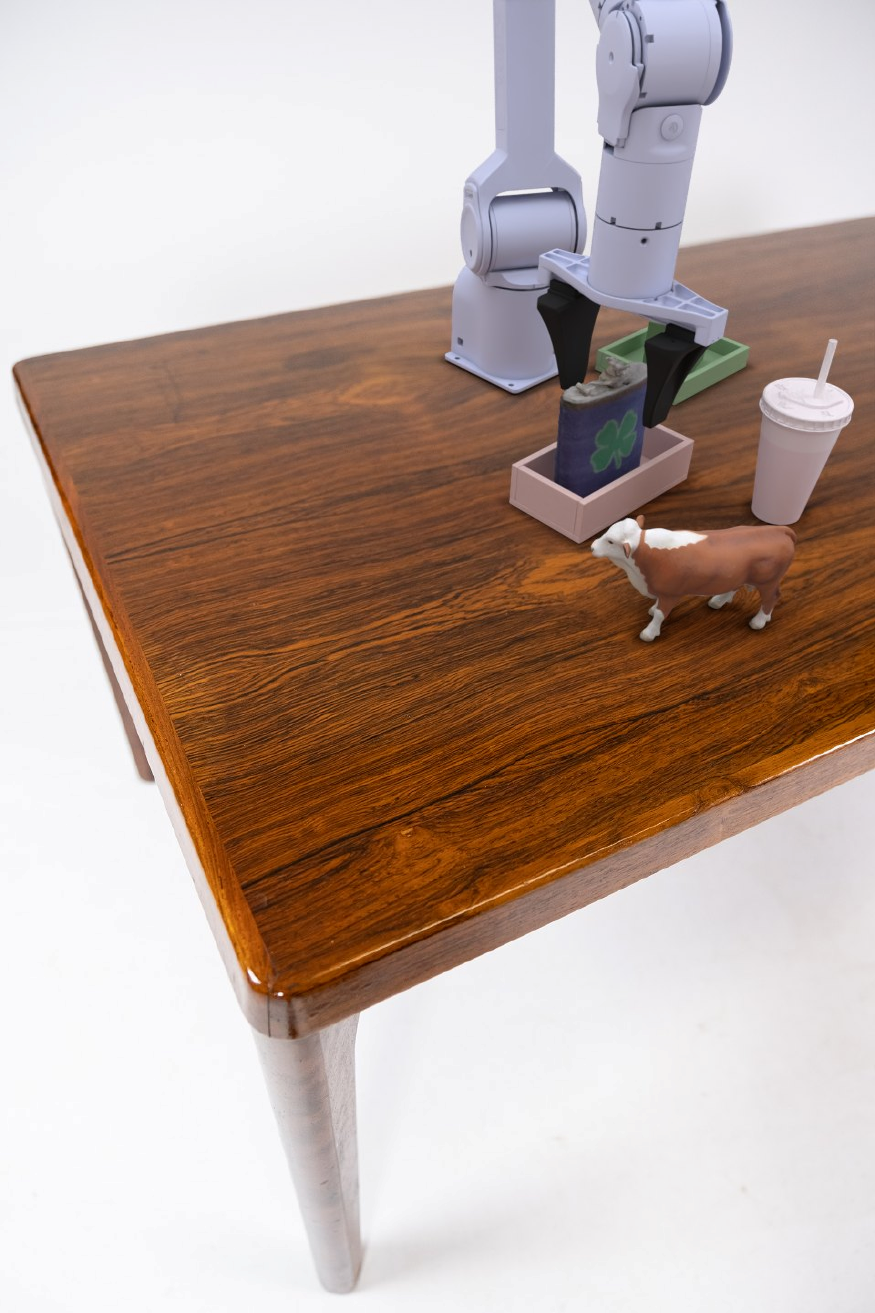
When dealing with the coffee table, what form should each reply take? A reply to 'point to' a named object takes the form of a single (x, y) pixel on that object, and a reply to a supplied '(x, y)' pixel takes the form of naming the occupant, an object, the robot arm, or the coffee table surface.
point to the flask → (601, 428)
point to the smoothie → (796, 441)
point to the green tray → (713, 368)
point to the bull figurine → (699, 564)
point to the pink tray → (588, 516)
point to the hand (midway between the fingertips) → (612, 403)
